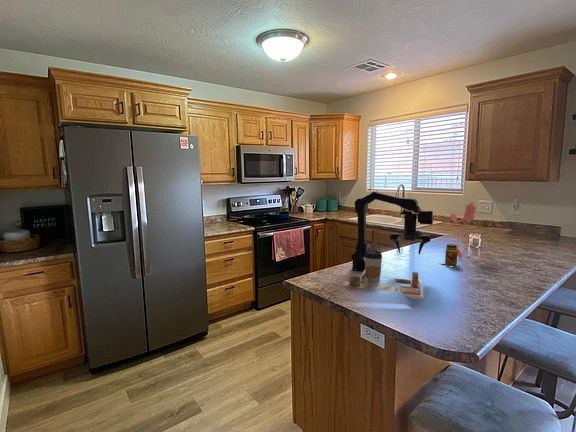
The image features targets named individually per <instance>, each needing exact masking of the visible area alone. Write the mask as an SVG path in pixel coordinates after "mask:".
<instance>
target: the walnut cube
mask: <svg viewBox="0 0 576 432" xmlns="http://www.w3.org/2000/svg"><path fill="white" fill-rule="evenodd" d="M348 282H349V283H350V286H359V287H360V283H361V275H360V273H349V281H348ZM350 286H349V287H350Z"/></svg>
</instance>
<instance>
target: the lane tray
mask: <svg viewBox="0 0 576 432" xmlns="http://www.w3.org/2000/svg"><path fill="white" fill-rule="evenodd" d="M398 278H399V279H403V278H402V277H401V278H400V277H398ZM408 279H409V278H408ZM409 280H412V278H411V279H409ZM368 282H369V281H368V278H366V277H365V278H364V282H363V284H369V283H368ZM418 286H419V289H418V288H417V290H418V291H419V296H418V295H410V294H405V293H404V295H405V296H406V298H407V299H415V300H420V301H423V300H424V292H423V291H424V290H423V281H422V279H418ZM400 288H403V287H400V286H399V289H400Z"/></svg>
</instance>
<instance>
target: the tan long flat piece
mask: <svg viewBox="0 0 576 432" xmlns="http://www.w3.org/2000/svg"><path fill="white" fill-rule="evenodd" d="M340 286H342V287H351V288H358V289H359V288H361V289H369V290H376V291H384V292H386V291H387V292H392V293H396V291H397V292H398V290H399V289H398V288H397V286H391V285H382V284H373V283H368V284H366V283H364V282H360V287H359V286H350V283H349V281H342V282H341V284H340Z"/></svg>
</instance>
